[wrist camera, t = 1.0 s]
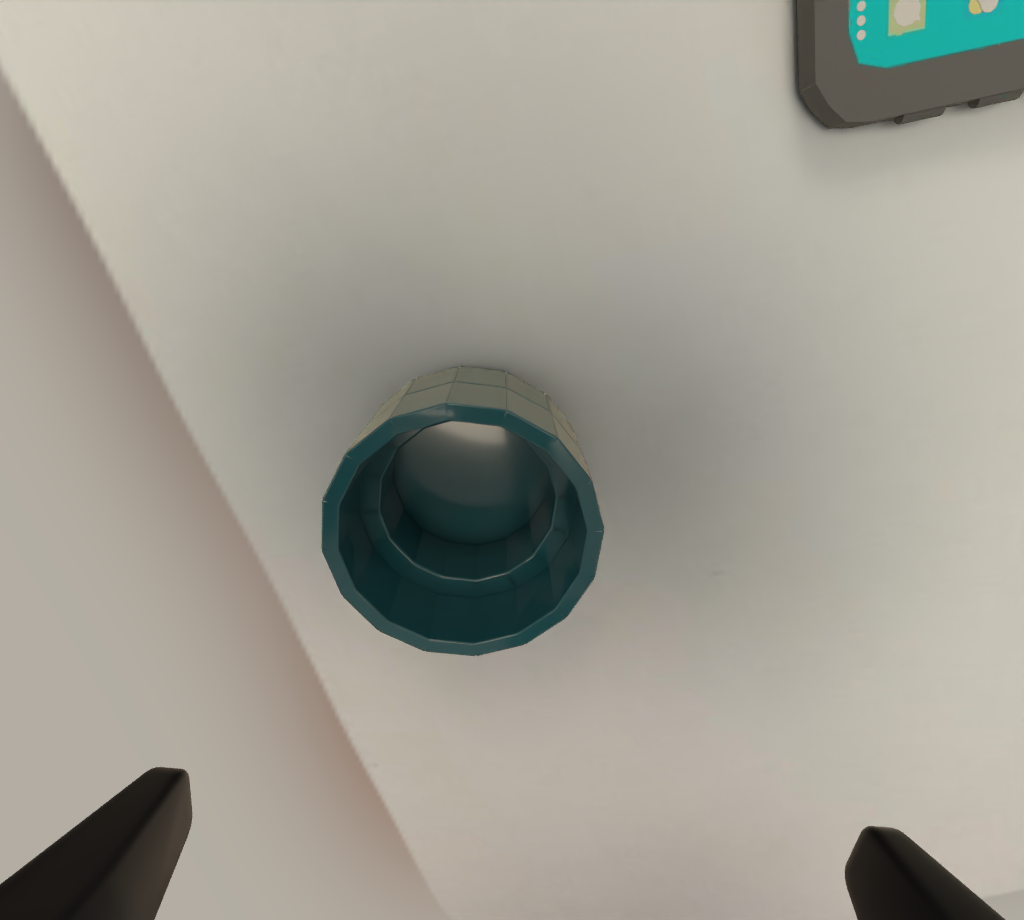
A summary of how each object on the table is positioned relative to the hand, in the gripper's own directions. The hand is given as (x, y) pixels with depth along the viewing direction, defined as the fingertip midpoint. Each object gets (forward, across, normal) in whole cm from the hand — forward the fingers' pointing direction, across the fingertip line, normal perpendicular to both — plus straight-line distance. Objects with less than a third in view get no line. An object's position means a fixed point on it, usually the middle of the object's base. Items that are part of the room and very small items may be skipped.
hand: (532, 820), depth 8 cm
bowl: (+11, +1, 0) cm, 11 cm away
